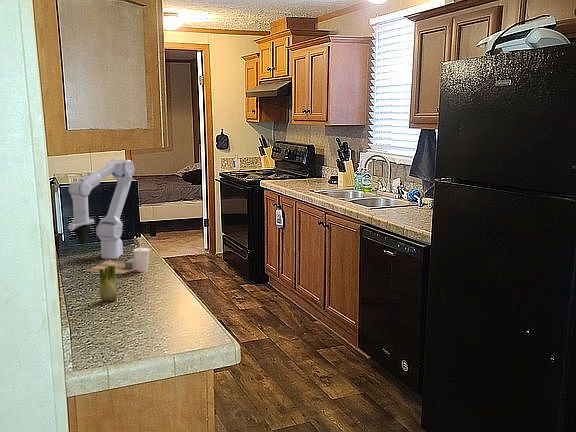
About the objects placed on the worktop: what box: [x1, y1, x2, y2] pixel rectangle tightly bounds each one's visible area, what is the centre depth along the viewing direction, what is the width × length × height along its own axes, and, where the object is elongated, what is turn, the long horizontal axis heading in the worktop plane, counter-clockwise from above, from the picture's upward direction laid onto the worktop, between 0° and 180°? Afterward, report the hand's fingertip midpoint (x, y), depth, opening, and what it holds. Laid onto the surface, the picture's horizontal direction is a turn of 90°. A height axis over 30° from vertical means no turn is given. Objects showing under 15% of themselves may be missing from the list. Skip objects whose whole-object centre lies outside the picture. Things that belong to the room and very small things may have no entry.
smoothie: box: [132, 238, 151, 273], centre depth 212 cm, size 6×6×14 cm
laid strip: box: [115, 263, 137, 275], centre depth 217 cm, size 16×8×1 cm, turn 167°
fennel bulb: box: [98, 265, 118, 302], centre depth 180 cm, size 6×5×12 cm
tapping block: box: [124, 257, 136, 270], centre depth 219 cm, size 7×3×2 cm, turn 177°
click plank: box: [85, 260, 126, 273], centre depth 219 cm, size 16×8×1 cm, turn 167°
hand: (82, 243), depth 219 cm, fingers closed
